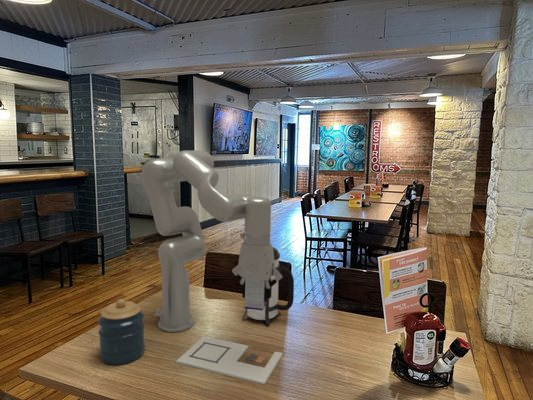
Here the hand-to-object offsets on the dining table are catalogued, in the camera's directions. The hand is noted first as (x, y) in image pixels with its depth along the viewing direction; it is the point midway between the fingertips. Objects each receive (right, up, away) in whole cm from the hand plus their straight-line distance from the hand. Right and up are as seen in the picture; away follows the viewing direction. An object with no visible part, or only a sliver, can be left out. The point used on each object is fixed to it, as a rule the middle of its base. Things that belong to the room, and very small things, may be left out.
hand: (256, 297), depth 111 cm
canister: (-41, -19, +4) cm, 45 cm away
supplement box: (0, -3, 0) cm, 3 cm away
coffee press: (+3, -16, +30) cm, 34 cm away
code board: (-8, -19, +2) cm, 21 cm away
